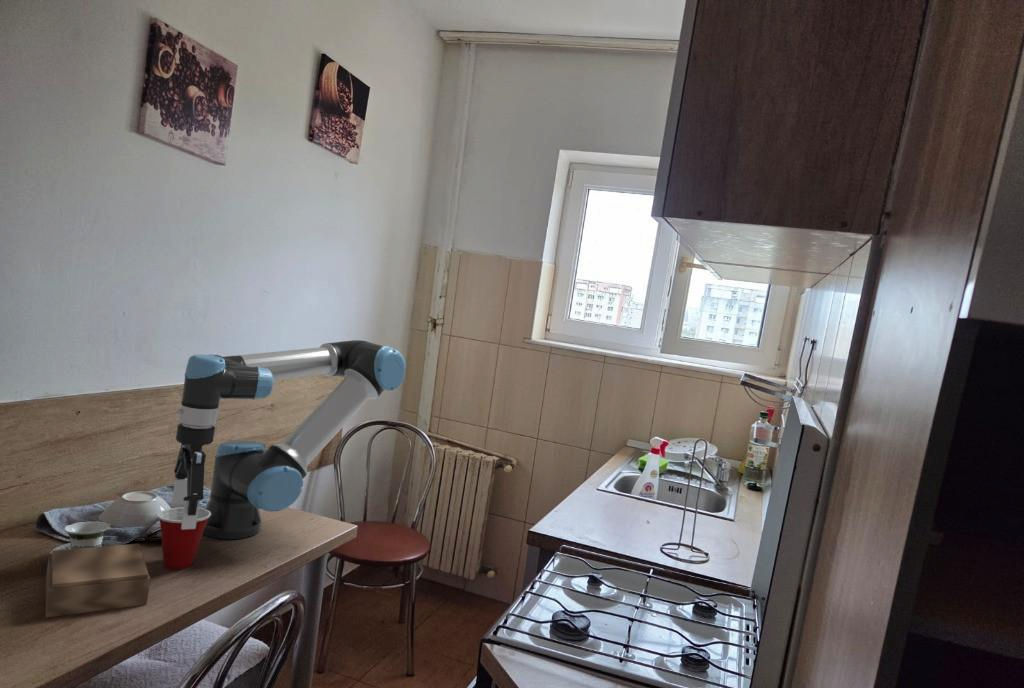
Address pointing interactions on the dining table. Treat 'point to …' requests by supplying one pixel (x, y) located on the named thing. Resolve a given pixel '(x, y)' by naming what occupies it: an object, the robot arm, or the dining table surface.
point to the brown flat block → (95, 579)
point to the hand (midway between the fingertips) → (182, 517)
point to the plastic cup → (180, 537)
